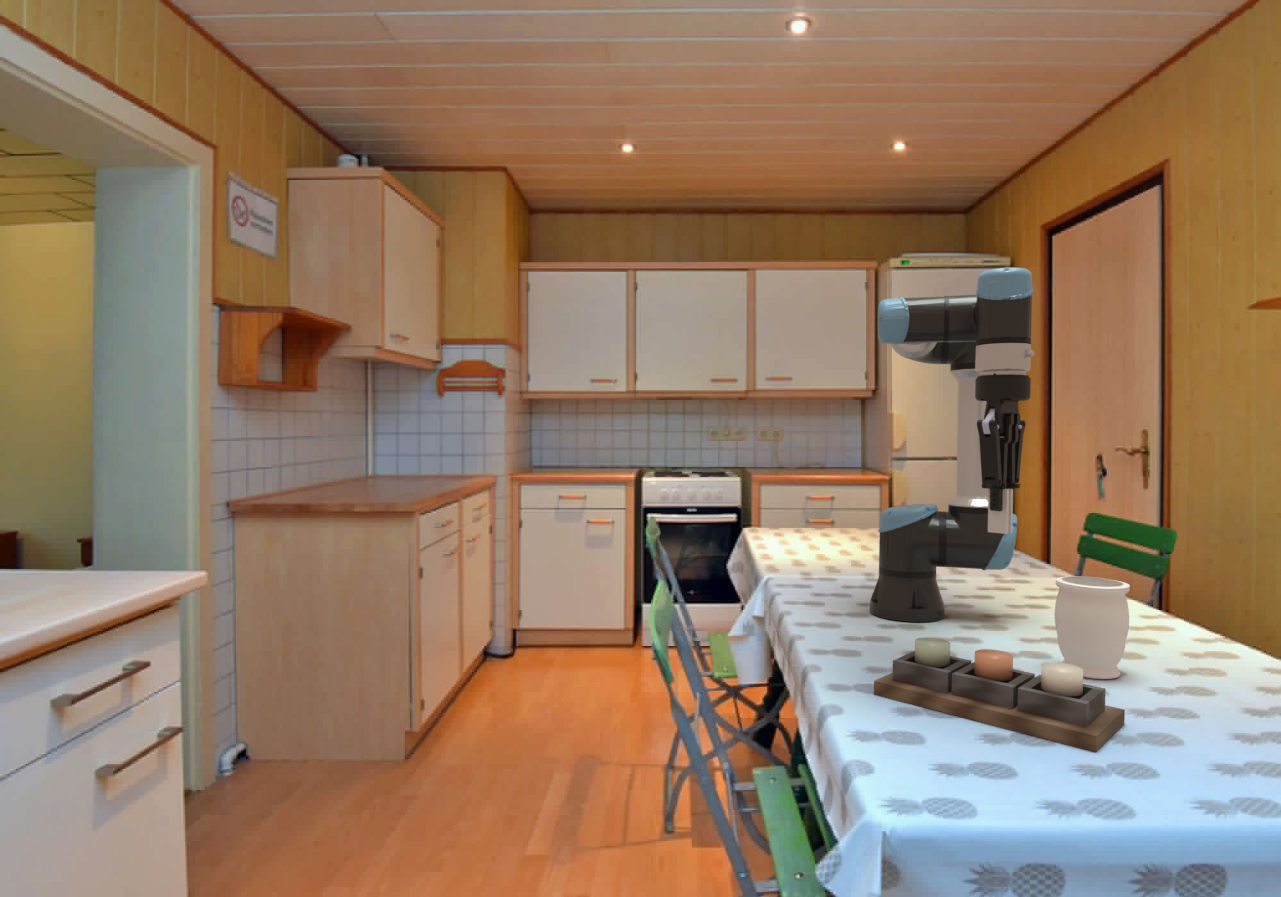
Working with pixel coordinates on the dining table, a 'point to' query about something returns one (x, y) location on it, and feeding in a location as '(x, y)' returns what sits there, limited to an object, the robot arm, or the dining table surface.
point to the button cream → (1062, 679)
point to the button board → (1004, 701)
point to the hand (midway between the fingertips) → (1000, 531)
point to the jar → (1092, 624)
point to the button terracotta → (993, 665)
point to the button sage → (932, 652)
